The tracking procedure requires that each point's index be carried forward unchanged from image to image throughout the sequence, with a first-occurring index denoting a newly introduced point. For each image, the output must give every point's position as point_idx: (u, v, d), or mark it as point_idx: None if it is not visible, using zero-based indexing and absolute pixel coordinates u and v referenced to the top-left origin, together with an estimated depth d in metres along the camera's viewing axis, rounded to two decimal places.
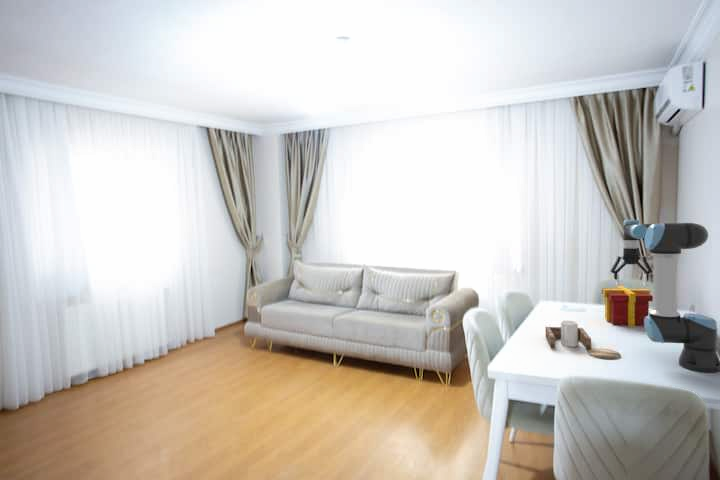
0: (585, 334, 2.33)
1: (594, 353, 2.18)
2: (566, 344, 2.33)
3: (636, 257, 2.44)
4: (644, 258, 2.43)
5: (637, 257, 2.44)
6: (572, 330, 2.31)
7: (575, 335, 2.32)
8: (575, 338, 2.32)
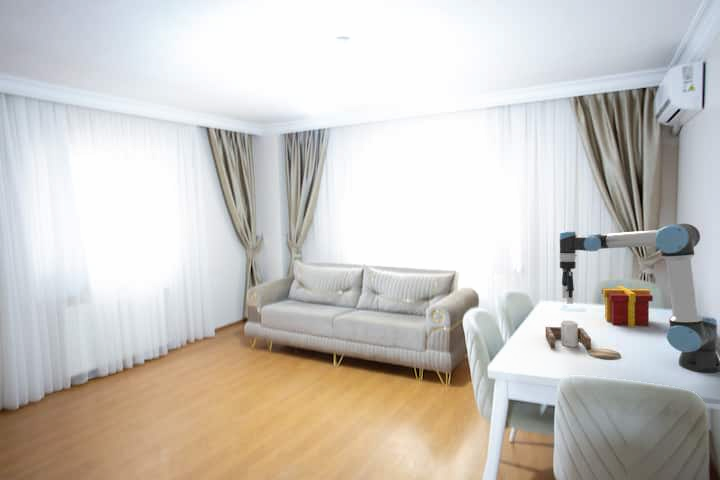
0: (585, 334, 2.33)
1: (594, 353, 2.18)
2: (566, 344, 2.33)
3: (566, 271, 2.30)
4: (567, 273, 2.27)
5: (566, 271, 2.30)
6: (572, 330, 2.31)
7: (575, 335, 2.32)
8: (575, 338, 2.32)
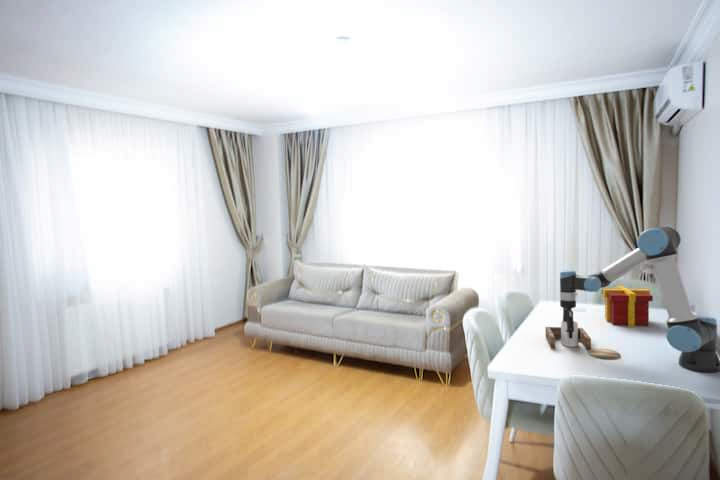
0: (585, 334, 2.33)
1: (594, 353, 2.18)
2: (566, 344, 2.33)
3: (566, 310, 2.32)
4: (567, 314, 2.28)
5: (566, 310, 2.31)
6: None
7: (575, 335, 2.32)
8: (575, 338, 2.32)
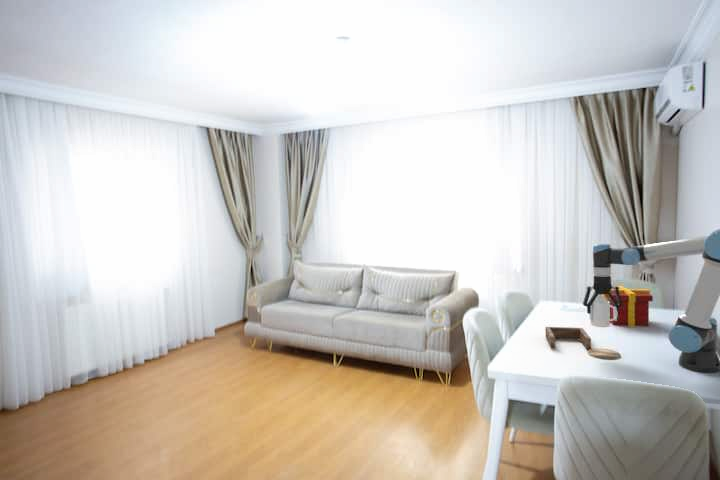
0: (585, 334, 2.33)
1: (594, 353, 2.18)
2: (609, 324, 2.16)
3: (608, 286, 2.15)
4: (616, 289, 2.14)
5: (609, 286, 2.15)
6: None
7: None
8: None
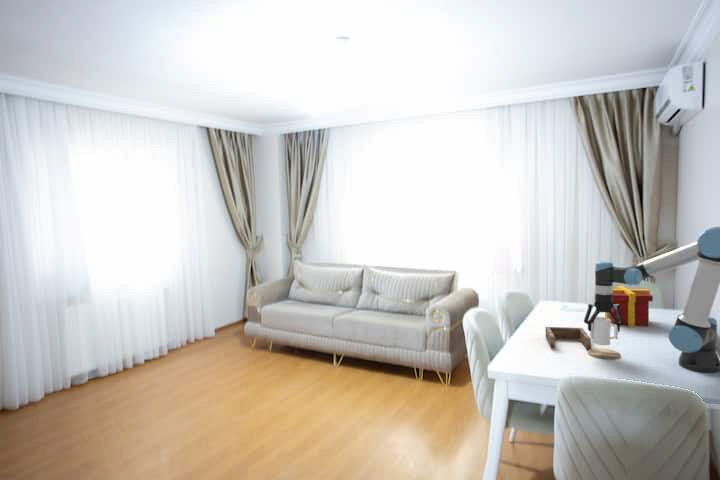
0: (585, 334, 2.33)
1: (594, 353, 2.18)
2: (609, 342, 2.16)
3: (609, 304, 2.15)
4: (618, 307, 2.14)
5: (610, 304, 2.15)
6: None
7: None
8: None
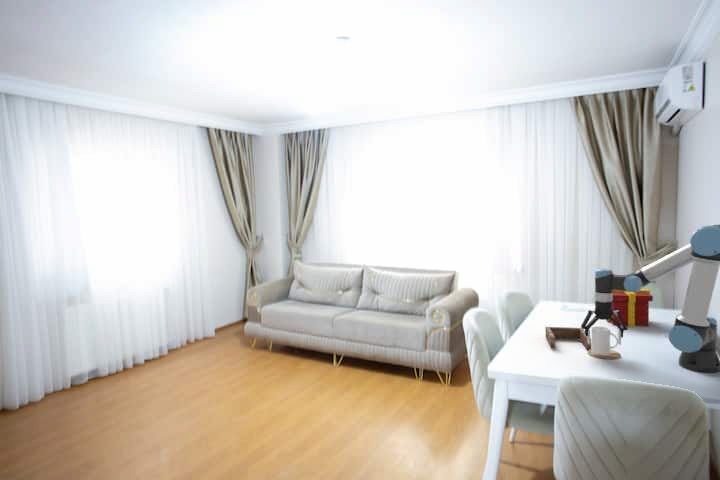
0: None
1: None
2: (609, 352, 2.16)
3: (609, 312, 2.15)
4: (618, 313, 2.14)
5: (610, 312, 2.15)
6: None
7: None
8: None
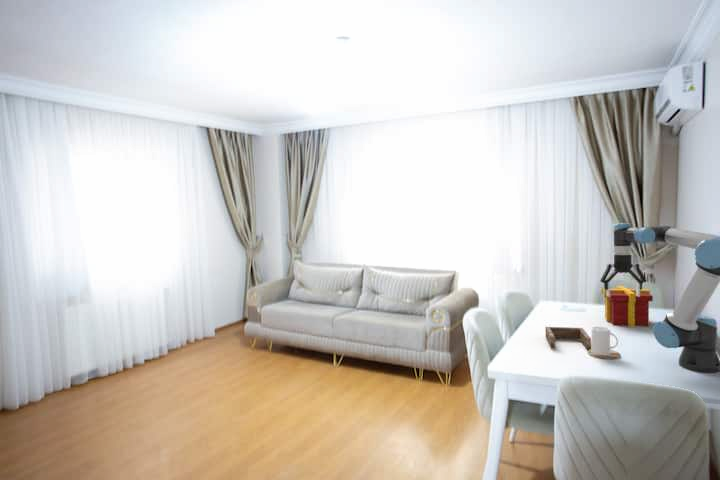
0: (585, 334, 2.33)
1: None
2: (609, 352, 2.16)
3: (628, 265, 2.19)
4: (637, 266, 2.18)
5: (629, 265, 2.19)
6: None
7: None
8: None
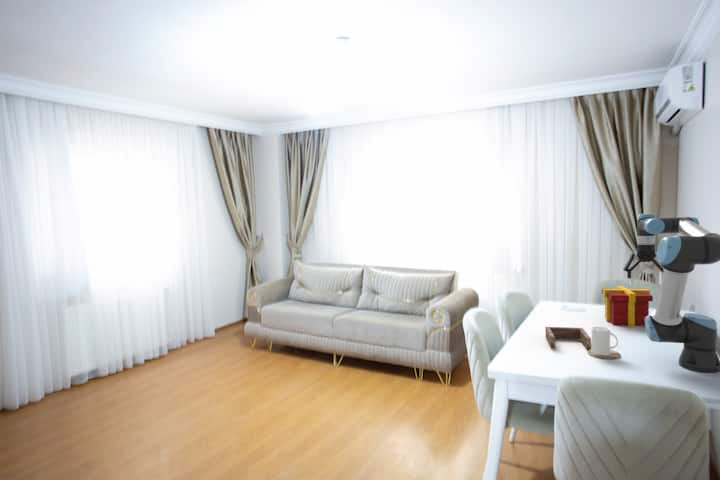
0: (585, 334, 2.33)
1: None
2: (609, 352, 2.16)
3: (651, 254, 2.25)
4: None
5: (653, 254, 2.25)
6: None
7: None
8: None
